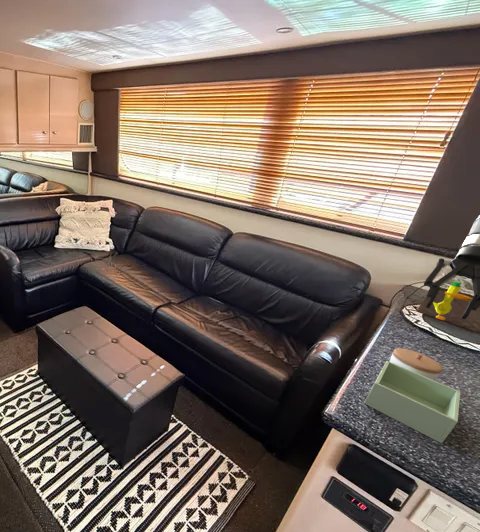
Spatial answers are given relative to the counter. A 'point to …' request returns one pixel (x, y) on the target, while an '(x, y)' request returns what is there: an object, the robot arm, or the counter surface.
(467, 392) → the counter surface
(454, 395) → the bin
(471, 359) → the counter surface
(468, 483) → the counter surface
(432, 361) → the trinket box
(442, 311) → the toy figure
